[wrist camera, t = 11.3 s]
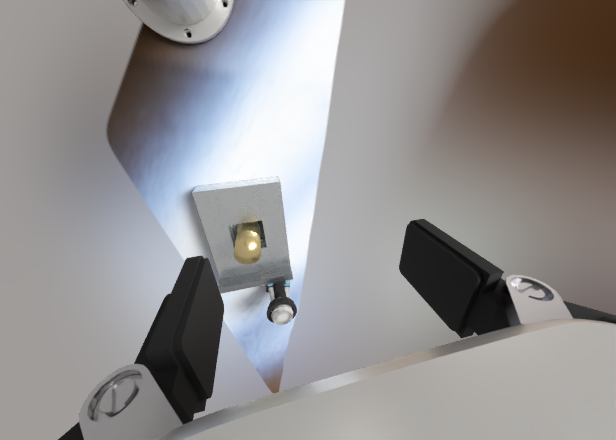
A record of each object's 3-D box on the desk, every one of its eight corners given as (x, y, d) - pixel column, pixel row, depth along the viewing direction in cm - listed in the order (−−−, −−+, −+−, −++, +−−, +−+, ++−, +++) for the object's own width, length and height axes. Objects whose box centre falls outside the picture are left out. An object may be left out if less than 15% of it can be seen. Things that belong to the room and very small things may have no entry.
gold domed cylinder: (235, 220, 38) (231, 245, 32) (258, 217, 39) (258, 240, 32) (239, 239, 40) (236, 266, 33) (261, 235, 41) (262, 262, 34)
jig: (196, 185, 34) (187, 198, 30) (278, 176, 37) (281, 186, 32) (223, 272, 43) (219, 293, 38) (288, 260, 45) (292, 279, 40)
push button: (257, 288, 47) (258, 329, 38) (259, 268, 44) (260, 307, 36) (287, 287, 48) (295, 327, 40) (291, 268, 46) (300, 306, 38)
